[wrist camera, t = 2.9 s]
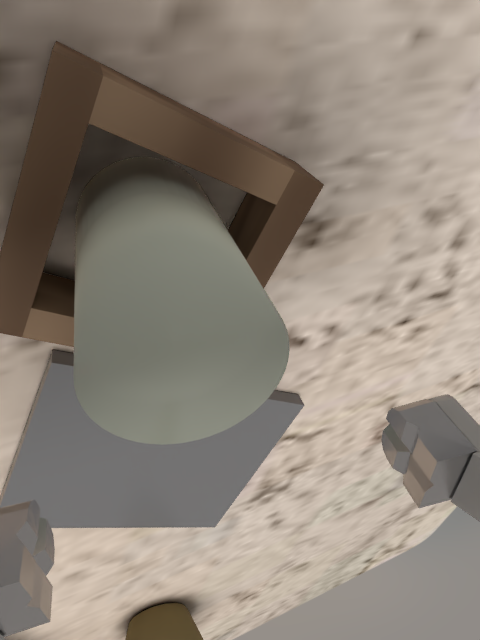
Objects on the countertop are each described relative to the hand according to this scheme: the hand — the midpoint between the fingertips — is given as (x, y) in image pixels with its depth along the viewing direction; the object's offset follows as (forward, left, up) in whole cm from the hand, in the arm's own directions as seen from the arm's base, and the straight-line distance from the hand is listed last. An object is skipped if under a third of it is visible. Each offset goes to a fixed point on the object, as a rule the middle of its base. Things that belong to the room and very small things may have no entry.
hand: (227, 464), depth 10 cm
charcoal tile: (+6, -15, -13) cm, 21 cm away
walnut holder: (0, 0, -13) cm, 13 cm away
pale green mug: (0, -1, -13) cm, 13 cm away
